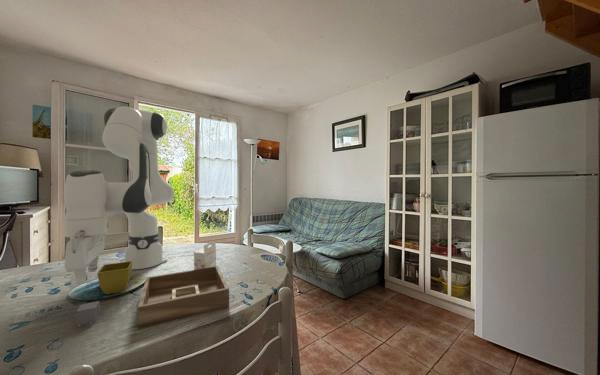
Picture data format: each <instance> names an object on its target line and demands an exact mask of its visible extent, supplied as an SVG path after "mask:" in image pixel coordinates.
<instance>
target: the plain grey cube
mask: <svg viewBox="0 0 600 375" xmlns="http://www.w3.org/2000/svg"><path fill="white" fill-rule="evenodd" d="M100 311H101V310H100V300H99V301H93V302H89V303H82V304H80V305H79V307H78V308H77V310H76V327H77V326H78V327H80V326H79V325H83V326H85V325H84V324H88V325H91V324H90V323H92V324H96V323H97V321H98V319H99V318H100V315H101V314H100V313H101V312H100ZM98 317H99V318H98ZM95 322H96V323H95Z"/></svg>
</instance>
